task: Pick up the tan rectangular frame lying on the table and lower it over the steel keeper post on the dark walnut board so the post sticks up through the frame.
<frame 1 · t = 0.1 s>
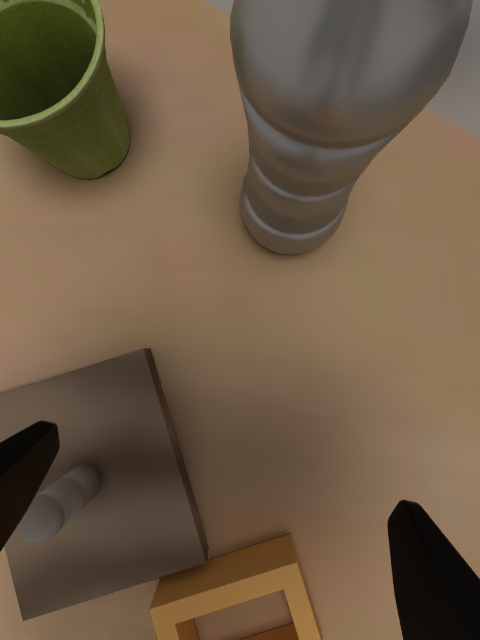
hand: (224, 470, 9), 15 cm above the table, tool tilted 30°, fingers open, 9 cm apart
keeper board: (95, 472, 23), on the table
tan rectangular frame: (241, 604, 23), on the table
plastic bottle: (286, 218, 25), on the table
plant pot: (90, 142, 25), on the table
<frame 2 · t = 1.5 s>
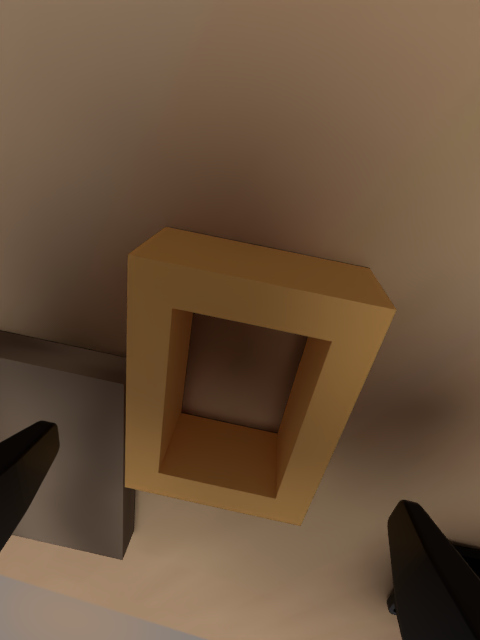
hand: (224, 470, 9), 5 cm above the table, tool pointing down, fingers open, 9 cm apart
tan rectangular frame: (242, 361, 13), on the table
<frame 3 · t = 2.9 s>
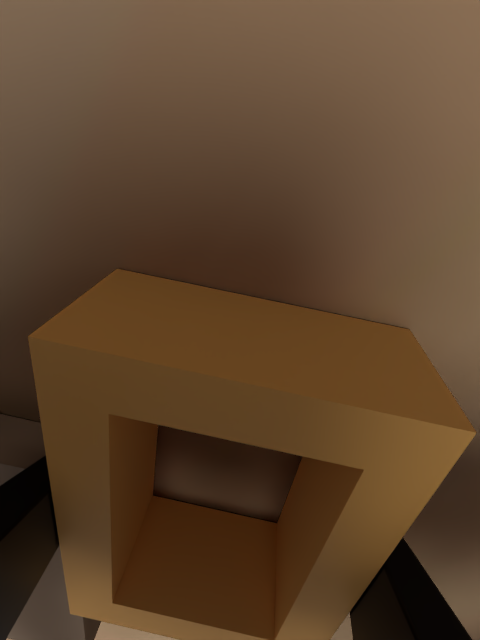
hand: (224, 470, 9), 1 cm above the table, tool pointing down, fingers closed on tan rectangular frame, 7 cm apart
tan rectangular frame: (230, 440, 10), on the table, touching gripper
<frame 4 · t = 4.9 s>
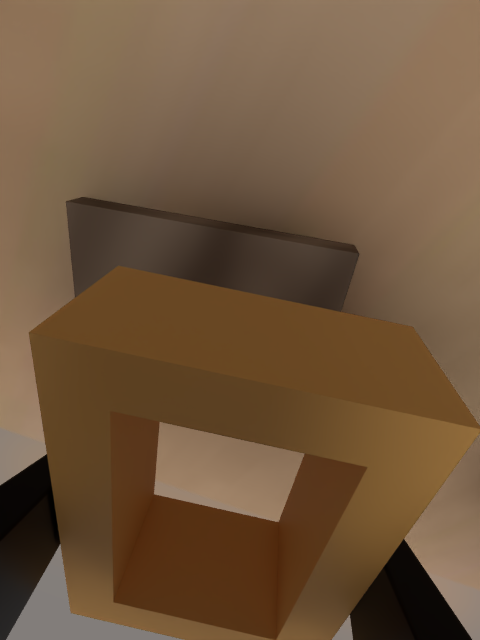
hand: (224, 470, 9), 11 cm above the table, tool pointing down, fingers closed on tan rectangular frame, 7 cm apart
keeper board: (204, 323, 20), on the table
tan rectangular frame: (231, 438, 10), point 10 cm above the table, touching gripper
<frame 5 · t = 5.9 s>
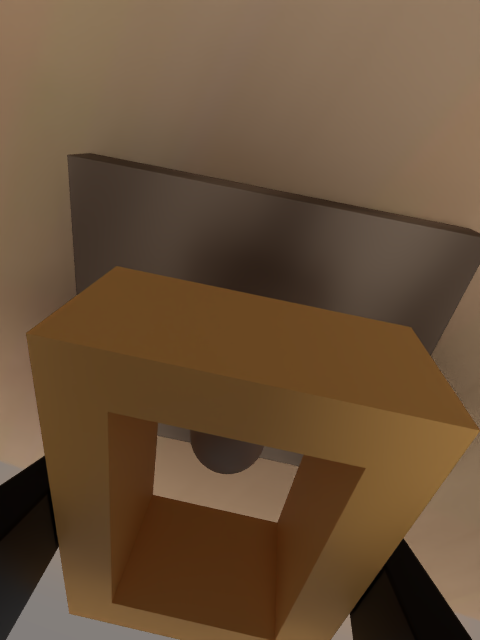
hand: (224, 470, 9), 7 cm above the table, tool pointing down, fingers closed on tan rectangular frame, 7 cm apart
keeper board: (248, 331, 15), on the table
tan rectangular frame: (230, 438, 10), point 6 cm above the table, touching gripper
when the fingers open (4 cm above the table, at t = 6.9 s): tan rectangular frame drops 2 cm, resting on keeper board.
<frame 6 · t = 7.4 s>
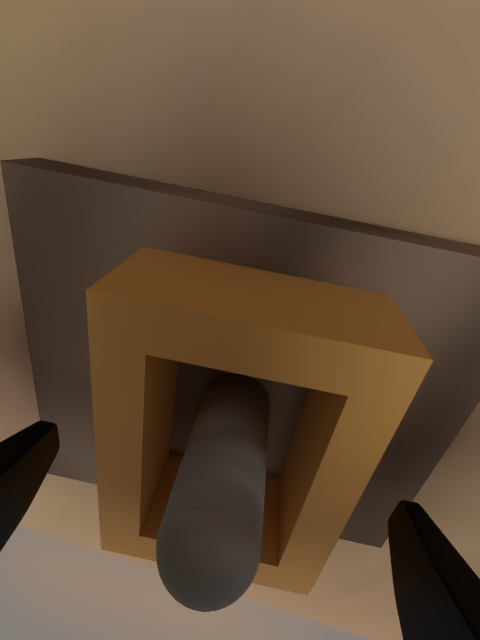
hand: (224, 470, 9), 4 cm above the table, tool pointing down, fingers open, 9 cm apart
keeper board: (241, 373, 12), on the table
tan rectangular frame: (238, 399, 11), point 1 cm above the table, touching keeper board
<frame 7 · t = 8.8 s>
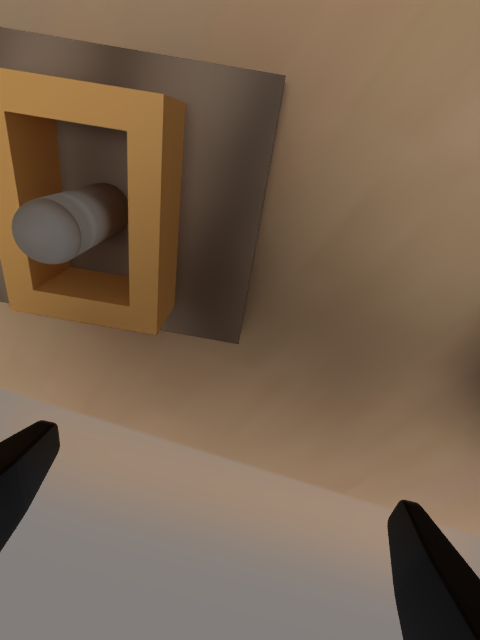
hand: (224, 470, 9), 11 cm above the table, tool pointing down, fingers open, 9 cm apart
keeper board: (120, 202, 17), on the table
tan rectangular frame: (108, 206, 16), point 1 cm above the table, touching keeper board
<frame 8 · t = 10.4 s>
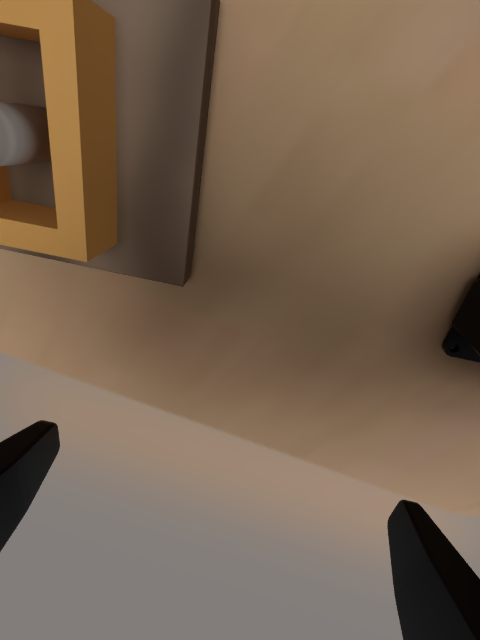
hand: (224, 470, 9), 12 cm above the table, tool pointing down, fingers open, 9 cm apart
keeper board: (63, 135, 17), on the table
tan rectangular frame: (45, 133, 15), point 1 cm above the table, touching keeper board
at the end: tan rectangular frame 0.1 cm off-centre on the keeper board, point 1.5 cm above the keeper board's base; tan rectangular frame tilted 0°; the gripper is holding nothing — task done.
